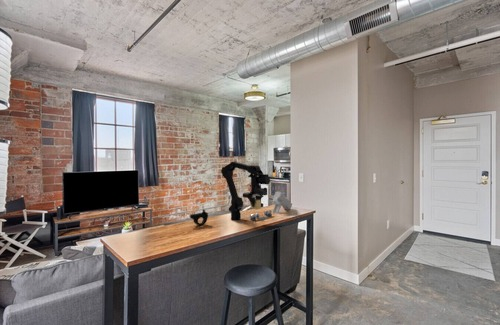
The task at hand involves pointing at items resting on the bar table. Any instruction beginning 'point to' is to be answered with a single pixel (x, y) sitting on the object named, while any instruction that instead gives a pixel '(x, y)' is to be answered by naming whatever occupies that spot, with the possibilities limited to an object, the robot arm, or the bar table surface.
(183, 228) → the bar table surface
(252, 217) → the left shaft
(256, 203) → the olive green rounded lump
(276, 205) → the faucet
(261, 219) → the pad
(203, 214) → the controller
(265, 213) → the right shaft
